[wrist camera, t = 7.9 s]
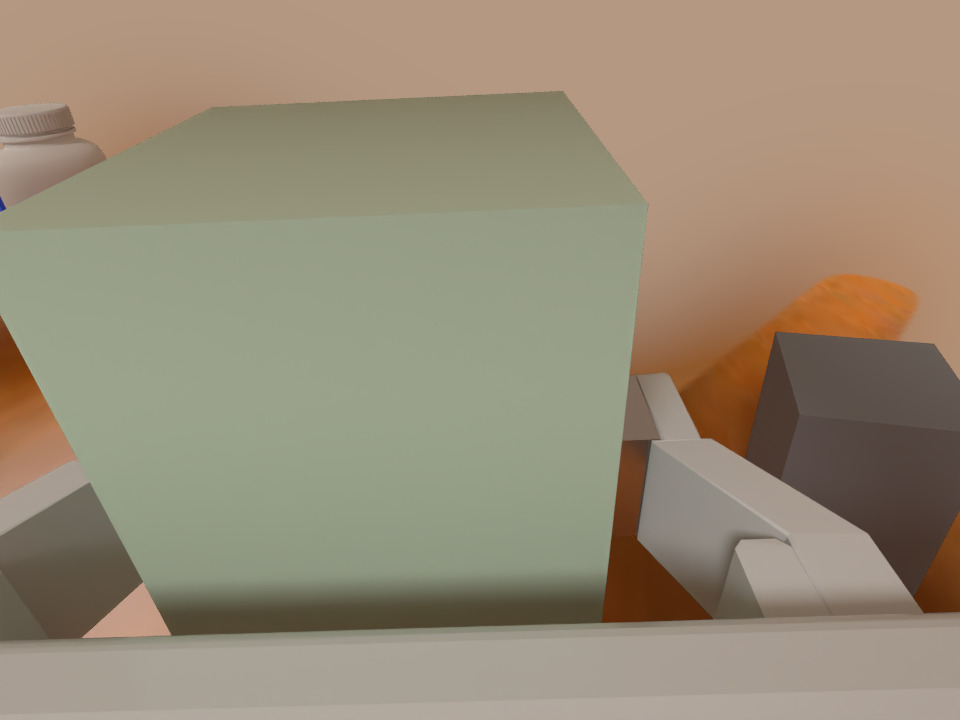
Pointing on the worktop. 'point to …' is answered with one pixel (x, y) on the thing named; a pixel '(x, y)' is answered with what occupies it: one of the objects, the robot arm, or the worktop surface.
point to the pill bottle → (40, 150)
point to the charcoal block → (866, 438)
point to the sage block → (344, 358)
